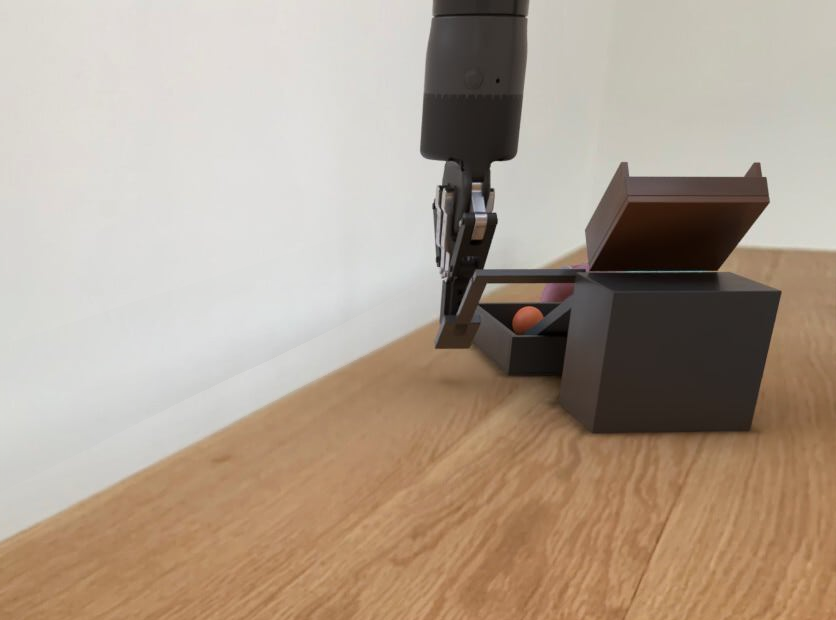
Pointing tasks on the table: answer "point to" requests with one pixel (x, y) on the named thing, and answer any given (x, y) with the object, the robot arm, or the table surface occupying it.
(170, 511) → the table surface
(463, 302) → the tipping trough with lever
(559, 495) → the table surface
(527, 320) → the ball terracotta
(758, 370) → the plinth
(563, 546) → the table surface
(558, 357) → the tray
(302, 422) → the table surface
